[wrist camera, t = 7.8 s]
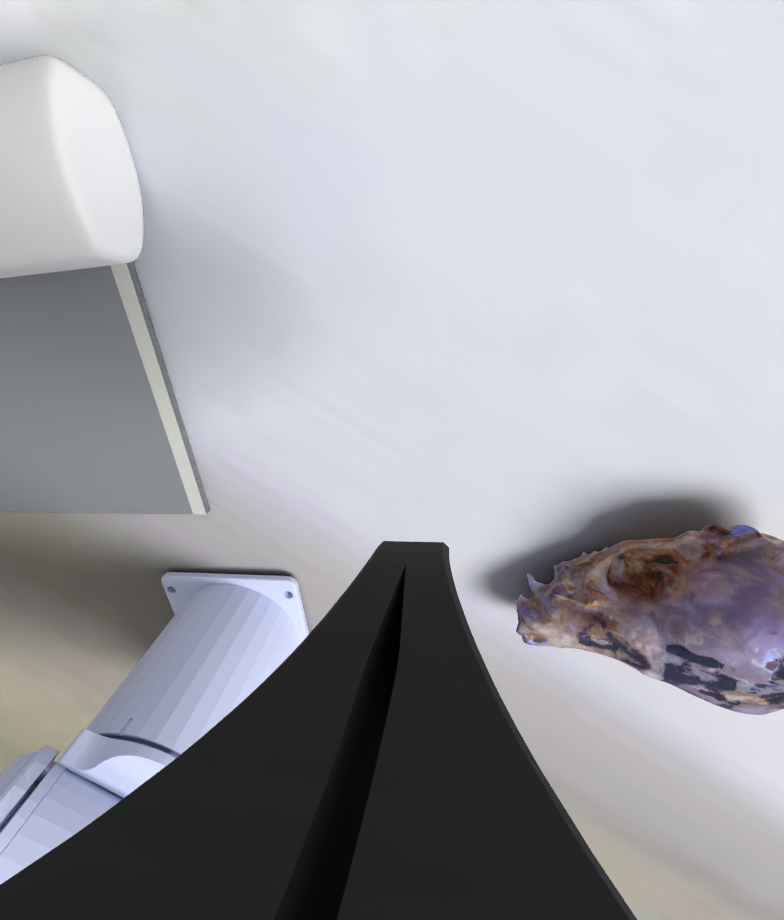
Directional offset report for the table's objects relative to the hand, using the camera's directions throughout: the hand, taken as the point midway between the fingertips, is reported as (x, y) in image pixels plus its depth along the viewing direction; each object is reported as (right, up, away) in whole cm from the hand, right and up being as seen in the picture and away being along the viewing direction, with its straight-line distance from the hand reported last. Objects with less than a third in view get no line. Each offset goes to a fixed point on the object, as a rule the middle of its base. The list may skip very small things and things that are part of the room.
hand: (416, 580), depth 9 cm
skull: (+11, -3, +12) cm, 16 cm away
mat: (-18, +6, +12) cm, 23 cm away
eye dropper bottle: (-10, +12, +5) cm, 17 cm away
